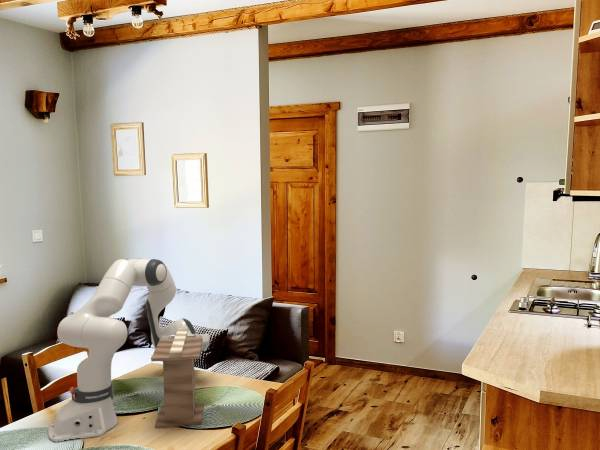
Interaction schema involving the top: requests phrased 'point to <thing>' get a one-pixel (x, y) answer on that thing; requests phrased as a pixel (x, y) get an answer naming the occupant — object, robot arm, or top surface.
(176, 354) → the birch slat
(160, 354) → the walnut stand
